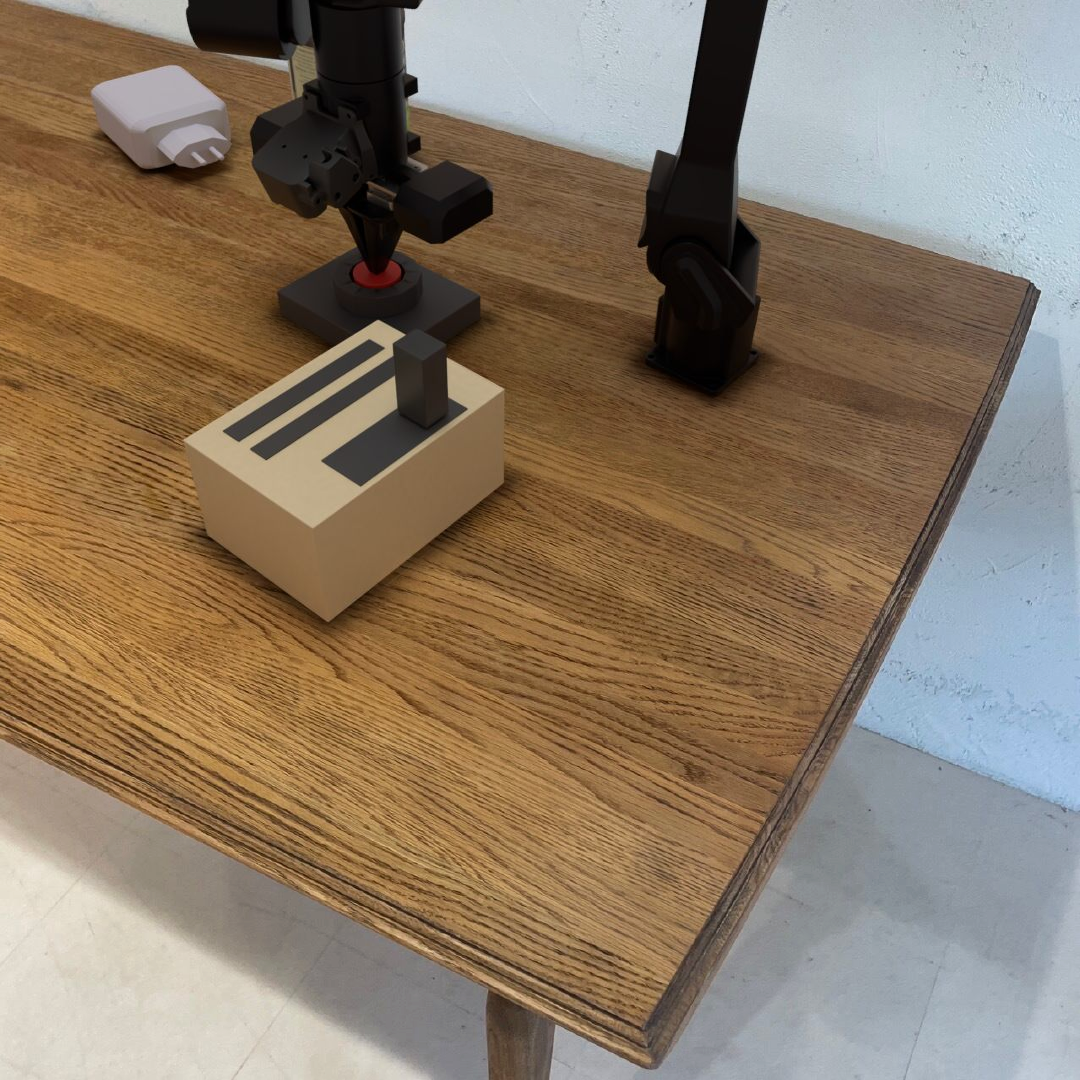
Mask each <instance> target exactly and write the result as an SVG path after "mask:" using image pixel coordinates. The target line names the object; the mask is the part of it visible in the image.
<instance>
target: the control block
mask: <svg viewBox="0 0 1080 1080" xmlns="http://www.w3.org/2000/svg"><path fill="white" fill-rule="evenodd" d="M390 260H391V261H393V262H395V263H396V264H398V266H399V267H400V269H401V278H402V281H400V282H398V283H397V284H395V285H393V286H392V287H387V288H381V289H372V288H364V287H361V286H359V285H357V284H355V283H354V278H353V270H354V268H355V267H356V266H357V265H358V264H359V263H361V262H363V261H364V260H363V258H362V256H361V254H360V252H359V249H358V247H357V246H355V247H353V248H352V249H350V250H348V251H346V252H344V253H342V254H341V255H339V256H337V257H335V258H334V259H332V260H330V261H328V262H327V263H325V264H323V265H321V266H320V267H317V268H315V269H313V270H312V271H310V272H308V273H307V274H305V275H303V276H301V277H300V278H297V279H295V280H294V281H292V282H291V283H289V284H287V285H285V286H284V287H281V288H280V289H278V290H277V291H276V294H277V301H278V307H279V314H280V315H281V316H282V317H284V318H285V319H287V320H289V321H291V322H293V323H294V324H296V325H298V326H300V327H301V328H303V329H305V330H306V331H308V332H310V333H312V334H313V335H315V336H316V337H319V338H320V339H322V340H323V341H326V342H327V343H329V344H330V345H333V347H335V346H336V345H338V344H340V343H341V342H343V341H344V340H346V339H348V338H349V337H351V336H353V335H354V334H356V333H357V332H359V331H361V330H362V329H364V328H366V327H367V326H369V325H370V324H372V323H374V322H375V321H377V320H380V321H381V322H383V323H385V324H387V325H389V326H391V327H392V328H394V329H396V330H398V331H400V332H401V333H403V334H405V335H406V334H408V333H410V332H411V331H413V330H414V329H419V330H420V331H422V332H424V333H426V334H428V335H430V336H431V337H433V338H435V339H437V340H439V341H441V342H443V343H444V344H446V343H447V342H448V341H449V340H451V339H452V338H454V337H456V336H457V335H458V334H460V333H461V332H463V331H464V330H466V329H467V328H469V327H470V326H472V325H473V324H475V323H477V322H478V321H479V320H481V318H482V317H481V312H482V311H481V310H482V309H481V307H482V306H481V295H480V294H479V293H477V292H475V291H472V290H470V289H469V288H466V287H465V286H463V285H461V284H459V283H457V282H456V281H453V280H452V279H449V278H447V277H446V276H443V275H441V274H440V273H437V272H435V271H434V270H431V269H429V268H428V267H426V266H424V265H421V264H419V263H417V260H416V259H414V258H412V257H411V256H409V255H407V254H405V253H403V252H401V251H398V250H394V253H393V255H392V257H391V259H390Z"/></svg>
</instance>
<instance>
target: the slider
mask: <svg viewBox="0 0 1080 1080" xmlns="http://www.w3.org/2000/svg"><path fill="white" fill-rule="evenodd" d="M392 345H393V358H394V371H395V384H396V397H397V409H398V412H400V413H402V414H403V415H405V416H407V417H408V418H410V419H412V420H414V421H415V422H417V423H419V424H420V425H422V426H424V427H425V428H427V427H429V426H430V425H431V424H433V423H434V422H436V421H437V420H438V419H440V418H441V417H443V416H444V415H445V414H447V413H448V412H449V404H448V376H447V358H448V355H447V354H448V353H447V344H446V343H443V342H441V341H439V340H437V339H435V338H433V337H431V336H430V335H428V334H426V333H424V332H422V331H420V330H419V329H414V330H413V331H411V332H410V333H408V334H406V335H405V336H403V337H402V338H400V339H399V340H397V341H395V342H394V343H393V344H392Z"/></svg>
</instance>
